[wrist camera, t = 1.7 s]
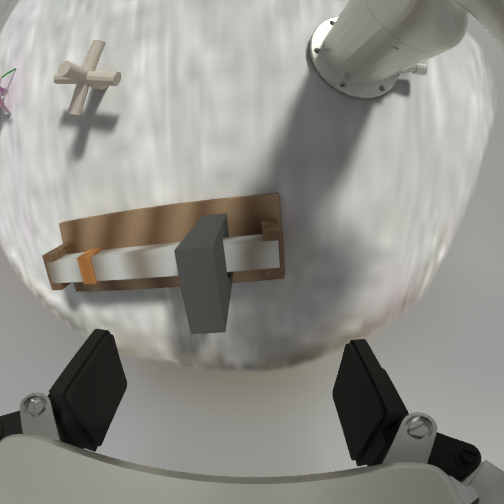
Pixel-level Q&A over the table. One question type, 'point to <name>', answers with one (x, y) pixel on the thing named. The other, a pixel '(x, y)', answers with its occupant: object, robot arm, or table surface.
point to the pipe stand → (165, 244)
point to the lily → (4, 92)
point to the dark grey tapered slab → (205, 274)
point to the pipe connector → (86, 77)
